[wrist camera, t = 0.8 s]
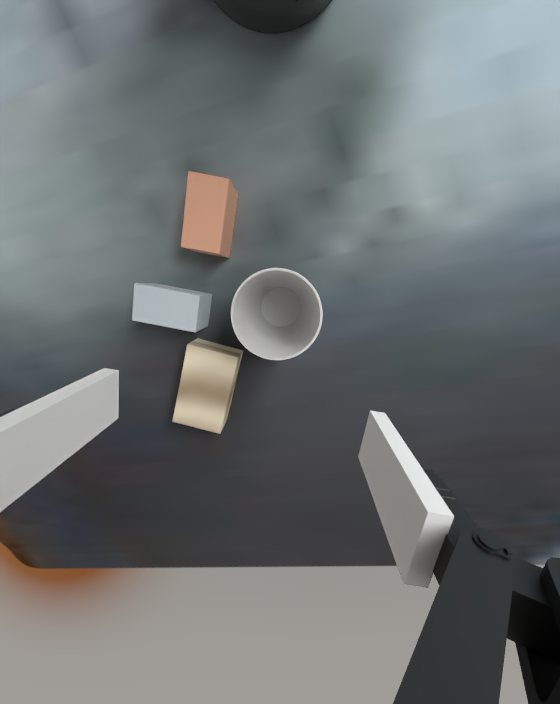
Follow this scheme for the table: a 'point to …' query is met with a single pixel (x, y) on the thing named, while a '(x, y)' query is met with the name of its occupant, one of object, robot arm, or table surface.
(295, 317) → the cup
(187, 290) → the slate block
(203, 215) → the terracotta block
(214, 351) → the maple block
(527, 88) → the table surface
